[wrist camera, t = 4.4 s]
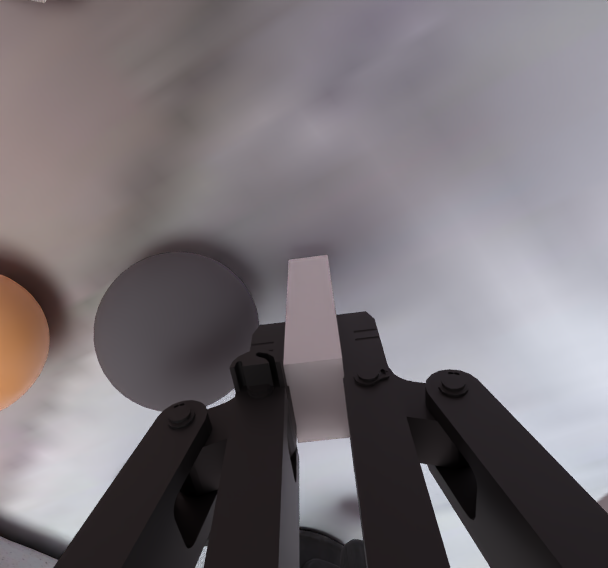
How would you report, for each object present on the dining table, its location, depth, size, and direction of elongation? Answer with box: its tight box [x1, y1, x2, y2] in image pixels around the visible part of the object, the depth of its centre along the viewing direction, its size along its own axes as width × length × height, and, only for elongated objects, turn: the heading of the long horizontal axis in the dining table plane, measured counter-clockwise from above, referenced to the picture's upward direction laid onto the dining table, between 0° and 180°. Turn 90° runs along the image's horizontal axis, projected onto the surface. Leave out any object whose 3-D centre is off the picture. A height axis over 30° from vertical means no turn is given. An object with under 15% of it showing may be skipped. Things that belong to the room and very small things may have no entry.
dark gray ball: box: [94, 252, 259, 411], centre depth 17 cm, size 6×6×6 cm
